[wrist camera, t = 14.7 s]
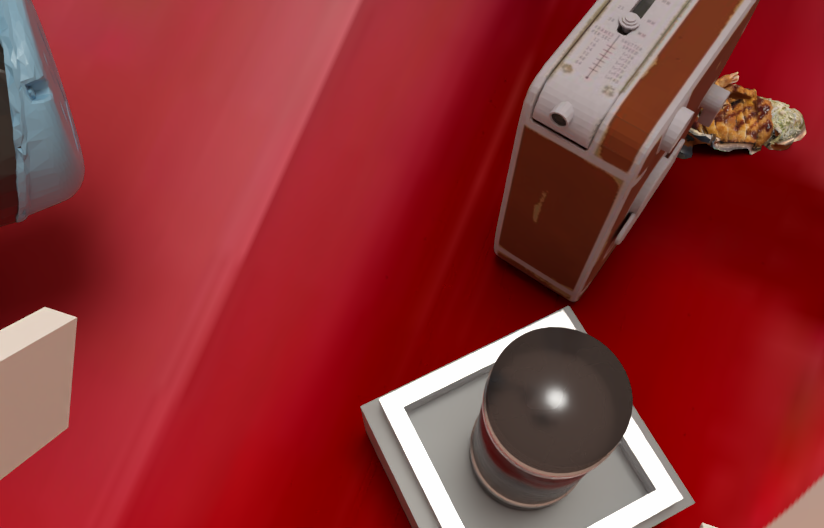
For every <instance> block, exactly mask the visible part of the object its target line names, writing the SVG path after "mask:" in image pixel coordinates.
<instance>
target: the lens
mask: <svg viewBox="0 0 824 528" xmlns="http://www.w3.org/2000/svg"><path fill="white" fill-rule="evenodd" d="M632 407H633V398H632V390H631V386H630V382H629V379H628V377H627V374H626V372H625V370H624V368H623V366H622V365H621V363H620V362H619V360H618V359H617V357H616V356H615V355H614V354H613V353H612V352H611V351H610V350H609V349H608V348H607V347H606V346H605V345H604V344H602V343H601V342H600V341H598V340H597V339H595V338H594V337H592V336H590V335H588V334H586V333H583V332H580V331H578V330H574V329H570V328H564V327H546V328H539V329H536V330H532V331H530V332H527V333H525V334H523V335H521V336H519V337H517V338H516V339H515V340H513V341H512V342H511V343H510V344H509V345H508V346H507V347H506V348H505V349H504V350H503V351H502V352H501V354H500V355H499V356H498V358H497V360H496V362H495V364H494V365H493V367H492V369H491V371H490V373H489V375H488V378H487V380H486V384H485V387H484V392H483V397H482V405H481V409H480V412H479V415H478V417H477V419H476V421H475V423H474V426H473V429H472V433H471V437H470V463H471V468H472V471H473V474H474V476H475V478H476V480H477V482H478V484H479V485H480V487H481V488H482V489H483V491H484V492H485V493H486V494H487V495H488V496H489V497H490V498H492V499H493V500H494V501H496V502H497V503H499V504H501V505H503V506H505V507H508V508H510V509H514V510H520V511H534V510H539V509H543V508H546V507H548V506H550V505H552V504H554V503H556V502H558V501H559V500H561V499H563V498H564V497H565V496H566V495H567V494H569V493H570V492H571V491H572V490H573V489H574V488H575V486H576V485H577V484H578V482H579V481H580V480H581V479H582V478H583V477H584V476H585V475H586V474H587V473H588V472H590V471H591V470H593V469H594V468H596V467H597V466H598V465H600V464H601V463H602V462H603V461H604V460H605V459H606V458H608V457H609V455H610V454H611V453H612V452H613V451H614V449H615V448H616V446H617V445H618V443H619V442H620V440H621V439H622V437H623V436H624V434H625V432H626V430H627V428H628V426H629V422H630V419H631V415H632Z"/></svg>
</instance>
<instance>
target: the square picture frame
mask: <svg viewBox="0 0 824 528" xmlns="http://www.w3.org/2000/svg"><path fill="white" fill-rule="evenodd" d="M546 327H564V328H570V329H574V330H576V328H575V327H574V325H573V324H572V322H571V321H570V319H569V317H568V316H567V314H566V313H565V311H564V310H562V311H560V312H557V313H555V314H553V315H551V316H549V317H547V318H545V319H543V320H541V321H539V322H537V323H535V324H533V325H531V326H529V327H527V328H524V329H522V330H520V331H518V332H516V333H514V334H512V335H510V336H508V337H506V338H504V339H502V340H500V341H498V342H496V343H494V344H491V345H489V346H487V347H485V348H483V349H481V350H479V351H477V352H475V353H473V354H471V355H469V356H467V357H465V358H463V359H461V360H458V361H456V362H454V363H452V364H450V365H448V366H446V367H444V368H442V369H440V370H438V371H436V372H434V373H432V374H430V375H428V376H426V377H423V378H421V379H419V380H417V381H415V382H413V383H411V384H409V385H407V386H405V387H403V388H401V389H399V390H397V391H395V392H393V393H390V394H388V395H386V396H384V397H382V398H380V399H379V403H380V408H381V410H382V412H383V414H384V416H385V418H386V420H387V422H388V424H389V426H390V428H391V430H392V432H393V434H394V436H395V438H396V440H397V442H398V444H399V446H400V448H401V450H402V452H403V454H404V456H405V458H406V460H407V462H408V464H409V466H410V468H411V470H412V472H413V474H414V476H415V479H416V481H417V483H418V485H419V487H420V489H421V491H422V493H423V495H424V497H425V499H426V501H427V503H428V505H429V507H430V509H431V511H432V513H433V515H434V517H435V519H436V521H437V523H438V525H439V527H440V528H464V526H463V524H462V522H461V520H460V518H459V516H458V514H457V513H456V511H455V509H454V507H453V505H452V503H451V501H450V499H449V497H448V495H447V493H446V491H445V489H444V487H443V485H442V483H441V481H440V479H439V477H438V475H437V473H436V471H435V469H434V467H433V465H432V463H431V461H430V459H429V457H428V455H427V453H426V451H425V449H424V447H423V445H422V443H421V441H420V439H419V438H418V436H417V434H416V432H415V430H414V428H413V426H412V424H411V422H410V420H409V418H408V416H407V414H406V412H408V411H411V410H413V409H415V408H417V407H419V406H421V405H423V404H425V403H427V402H429V401H431V400H433V399H435V398H437V397H439V396H441V395H443V394H445V393H447V392H449V391H451V390H453V389H455V388H457V387H459V386H461V385H463V384H465V383H467V382H469V381H471V380H473V379H475V378H478V377H480V376H482V375H484V374H486V373H488V372H490V371H491V369H492V367H493V365H494V364H495V362H496V360H497V358H498V356H499V355H500V354H501V352H502V351H503V350H504V349H505V348H506V347H507V346H508V345H509V344H510V343H511V342H512V341H513V340H515V339H516V338H517V337H519V336H521V335H523V334H525V333H527V332H530V331H532V330H536V329H539V328H546ZM618 445H619V447H620V449H621V450H622V452H623V453H624V455H625V457H626V458H627V460H628V461H629V463H630V465H631V466H632V468H633V470H634V471H635V473H636V474H637V476H638V478H639V479H640V481H641V483H642V484H643V486H644V487H645V489H646V491H647V492H648V495H646V496H644V497H642V498H641V499H639V500H637V501H635V502H633V503H631V504H630V505H628V506H626V507H624V508H622V509H621V510H619V511H617V512H615V513H613V514H612V515H610V516H608V517H606V518H604V519H603V520H601V521H599V522H597V523H595V524H594V525H592V526H590V527H588V528H631V527H633V526H635V525H637V524H638V523H640V522H642V521H644V520H645V519H647V518H649V517H651V516H653V515H654V514H656V513H658V512H660V511H662V510H663V509H665V508H667V507H669V506H670V505H672V504H674V503H676V502H678V501H679V500H681V499H683V497H682V495H681V494H680V492H679V491H678V489H677V488H676V486H675V484H674V483H673V481H672V480H671V478H670V476H669V475H668V473H667V472H666V470H665V469H664V467H663V465H662V464H661V462H660V461H659V459H658V458H657V456H656V454H655V453H654V451H653V450H652V448H651V447H650V445H649V443H648V442H647V440H646V439H645V437H644V436H643V434H642V432H641V431H640V429H639V428H638V426H637V425H636V423H635V421H634V420H633V418H632V417H631V419H630V422H629V426H628V428H627V430H626V432H625V434H624V436H623V437H622V439H621V440H620V442H619V443H618Z"/></svg>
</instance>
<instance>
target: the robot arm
mask: <svg viewBox="0 0 824 528" xmlns="http://www.w3.org/2000/svg"><path fill="white" fill-rule="evenodd" d="M84 172H85V168H84V160H83V156H82V151H81V147H80V142H79V139H78V135H77V131H76V128H75V124H74V121H73V117H72V114H71V111H70V107H69V104H68V101H67V98H66V94H65V91H64V88H63V85H62V82H61V79H60V76H59V73H58V70H57V67H56V64H55V61H54V59H53V56H52V53H51V50H50V47H49V44H48V42H47V39H46V36H45V33H44V31H43V28H42V25H41V23H40V20H39V18H38V15H37V13H36V10H35V8H34V6H33V3H32V1H31V0H0V227H1V226H5V225H8V224H11V223H14V222H17V223H18V222H21V221H24V220H25V219H27V216H29V215H31V214H33V213H36V212H38V211H41V210H43V209H46V208H48V207H51V206H53V205H56V204H58V203H61V202H63V201H66V200H68V199H69V198H71V197H72V196H73V195H74V194H75V193H76V192H77V191H78V190H79V188H80V187H81V184H82V181H83V179H84ZM76 326H77V317H75V316H72V315H68V314H65V313H62V312H59V311H56V310H53V309H50V308H47V307H44V308H42V309H40V310H38V311H36V312H34V313H32V314H30V315H28V316H26V317H24V318H23V319H21V320H19V321H17V322H15V323H13V324H11V325H9V326H7V327H5V328H3V329H1V330H0V480H1V479H2V478H3V477H5V476H6V475H7V474H9V473H10V472H11V471H12V470H14V469H15V468H16V467H18V466H19V465H20V464H22V463H23V462H24V461H25V460H27V459H28V458H29V457H31V456H32V455H33V454H34V453H36V452H37V451H38V450H40V449H41V448H42V447H44V446H45V445H46V444H47V443H49V442H50V441H51V440H53V439H54V438H55V437H56V436H58V435H59V434H60V433H62V432H63V431H64V430H66V429H67V428H68V422H69V410H70V398H71V386H72V374H73V362H74V350H75V338H76ZM700 528H717V527H714V526H711V525H708V524H705V523H702V524H701V526H700Z"/></svg>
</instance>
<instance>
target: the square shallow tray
mask: <svg viewBox="0 0 824 528" xmlns="http://www.w3.org/2000/svg"><path fill="white" fill-rule="evenodd" d="M562 310H564V311H565V313H566V314H567V316H568V317H569V319H570V321H571V322H572V324H573V325H574V327H575V328H576V330H578V331H580V332H583V333H586V331H585V330H584V328H583V327H582V325H581V324H580V322H579V320H578V319H577V317H576V316H575V314H574V313H573V311H572V309H571V308H570V306H567V307H565V308H563V309H560V310H558V311H556V312H554V313H552V314H550V315H548V316H546V317H544V318H542V319H540V320H538V321H536V322H534V323H532V324H530V325H527V326H525V327H523V328H521V329H519V330H517V331H515V332H513V333H511V334H509V335H507V336H505V337H503V338H501V339H499V340H497V341H494V342H492V343H490V344H488V345H486V346H484V347H482V348H480V349H478V350H476V351H474V352H472V353H470V354H468V355H466V356H463V357H461V358H459V359H457V360H455V361H453V362H451V363H449V364H447V365H445V366H443V367H441V368H439V369H437V370H435V371H433V372H430V373H428V374H426V375H424V376H422V377H420V378H418V379H416V380H414V381H412V382H410V383H408V384H406V385H404V386H402V387H400V388H397V389H395V390H393V391H391V392H389V393H387V394H385V395H383V396H381V397H379V398H377V399H375V400H373V401H371V402H369V403H367V404H364V405H362V406H360V407H361V411H362V416H363V420H364V425H365V429H366V433H367V435H368V437H369V439H370V441H371V443H372V445H373V447H374V449H375V452H376V454H377V456H378V458H379V460H380V462H381V464H382V466H383V468H384V470H385V472H386V475H387V477H388V479H389V481H390V483H391V485H392V487H393V489H394V491H395V493H396V495H397V497H398V500H399V502H400V504H401V506H402V508H403V510H404V512H405V514H406V516H407V518H408V520H409V523H410V525H411V527H412V528H440V527H439V525H438V523H437V521H436V519H435V517H434V515H433V513H432V511H431V509H430V507H429V505H428V503H427V501H426V499H425V497H424V495H423V493H422V491H421V489H420V487H419V485H418V483H417V481H416V479H415V476H414V474H413V472H412V470H411V468H410V466H409V464H408V462H407V460H406V458H405V456H404V454H403V452H402V450H401V448H400V446H399V444H398V442H397V440H396V438H395V436H394V434H393V432H392V430H391V428H390V426H389V424H388V422H387V420H386V418H385V416H384V414H383V412H382V410H381V408H380V403H379V399H380V398H382V397H384V396H386V395H388V394H390V393H393V392H395V391H397V390H399V389H401V388H403V387H405V386H407V385H409V384H411V383H413V382H415V381H417V380H419V379H421V378H423V377H426V376H428V375H430V374H432V373H434V372H436V371H438V370H440V369H442V368H444V367H446V366H448V365H450V364H452V363H454V362H456V361H458V360H461V359H463V358H465V357H467V356H469V355H471V354H473V353H475V352H477V351H479V350H481V349H483V348H485V347H487V346H489V345H491V344H494V343H496V342H498V341H500V340H502V339H504V338H506V337H508V336H510V335H512V334H514V333H516V332H518V331H520V330H522V329H524V328H527V327H529V326H531V325H533V324H535V323H537V322H539V321H541V320H543V319H545V318H547V317H549V316H551V315H553V314H555V313H557V312H560V311H562ZM586 334H587V333H586ZM489 373H490V372H488V373H486V374H484V375H482V376H480V377H478V378H475V379H473V380H471V381H469V382H467V383H465V384H463V385H461V386H459V387H457V388H455V389H453V390H451V391H449V392H447V393H445V394H443V395H441V396H439V397H437V398H435V399H433V400H431V401H429V402H427V403H425V404H423V405H421V406H419V407H417V408H415V409H413V410H411V411H408V412H406V414H407V416H408V418H409V420H410V422H411V424H412V426H413V428H414V430H415V432H416V434H417V436H418V438H419V439H420V441H421V443H422V445H423V447H424V449H425V451H426V453H427V455H428V457H429V459H430V461H431V463H432V465H433V467H434V469H435V471H436V473H437V475H438V477H439V479H440V481H441V483H442V485H443V487H444V489H445V491H446V493H447V495H448V497H449V499H450V501H451V503H452V505H453V507H454V509H455V511H456V513H457V514H458V516H459V518H460V520H461V522H462V524H463V526H464V528H588V527H590V526H592V525H594V524H595V523H597V522H599V521H601V520H603V519H604V518H606V517H608V516H610V515H612V514H613V513H615V512H617V511H619V510H621V509H622V508H624V507H626V506H628V505H630V504H631V503H633V502H635V501H637V500H639V499H641V498H642V497H644V496H646V495H648V492H647V491H646V489H645V487H644V486H643V484H642V483H641V481H640V479H639V478H638V476H637V474H636V473H635V471H634V470H633V468H632V466H631V465H630V463H629V461H628V460H627V458H626V457H625V455H624V453H623V452H622V450H621V449H620V447H619V445H617V446H616V448H615V449H614V451H613V452H612V453H611V454H610V455H609V457H608V458H606V459H605V460H604V461H603V462H602V463H601V464H600V465H598V466H597V467H596V468H594V469H593V470H591V471H590V472H588V473H587V474H586V475H585V476H584V477H583V478H582V479H581V480H580V481H579V482H578V484H577V485H576V486H575V488H574V489H573V490H572V491H571V492H570V493H569V494H567V495H566V496H565V497H564V498H563V499H561V500H559V501H558V502H556V503H554V504H552V505H550V506H548V507H546V508H543V509H539V510H534V511H520V510H514V509H510V508H508V507H505V506H503V505H501V504H499V503H497V502H496V501H494V500H493V499H492V498H490V497H489V496H488V495H487V494H486V493H485V492H484V491H483V489H482V488H481V487H480V485H479V484H478V482H477V480H476V478H475V476H474V474H473V471H472V468H471V463H470V437H471V433H472V429H473V426H474V423H475V421H476V419H477V417H478V415H479V412H480V409H481V405H482V397H483V392H484V387H485V384H486V380H487V378H488V375H489ZM631 417H632V418H633V420H634V421H635V423H636V425H637V426H638V428H639V429H640V431H641V432H642V434H643V436H644V437H645V439H646V440H647V442H648V443H649V445H650V447H651V448H652V450H653V451H654V453H655V454H656V456H657V458H658V459H659V461H660V462H661V464H662V465H663V467H664V469H665V470H666V472H667V473H668V475H669V476H670V478H671V480H672V481H673V483H674V484H675V486H676V488H677V489H678V491H679V492H680V494H681V495H682V497H683V499H681V500H679V501H678V502H676V503H674V504H672V505H670V506H669V507H667V508H665V509H663V510H662V511H660V512H658V513H656V514H654V515H653V516H651V517H649V518H647V519H645V520H644V521H642V522H640V523H638V524H637V525H635V526H633V527H631V528H651V527H653V526H655V525H657V524H658V523H660V522H662V521H664V520H666V519H667V518H669V517H671V516H673V515H674V514H676V513H678V512H680V511H682V510H683V509H685V508H687V507H689V506H690V505H692V504H694V503H695V502H694V500H693V499H692V497H691V495H690V494H689V492H688V491H687V489H686V488H685V486H684V485H683V483H682V481H681V480H680V478H679V477H678V475H677V474H676V472H675V470H674V469H673V467H672V466H671V464H670V463H669V461H668V459H667V458H666V456H665V455H664V453H663V452H662V450H661V449H660V447H659V445H658V444H657V442H656V441H655V439H654V438H653V436H652V434H651V433H650V431H649V430H648V428H647V427H646V425H645V424H644V422H643V420H642V419H641V417H640V416H639V414H638V413H637V411H636V409H635V408H634V406H633V407H632V415H631Z"/></svg>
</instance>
